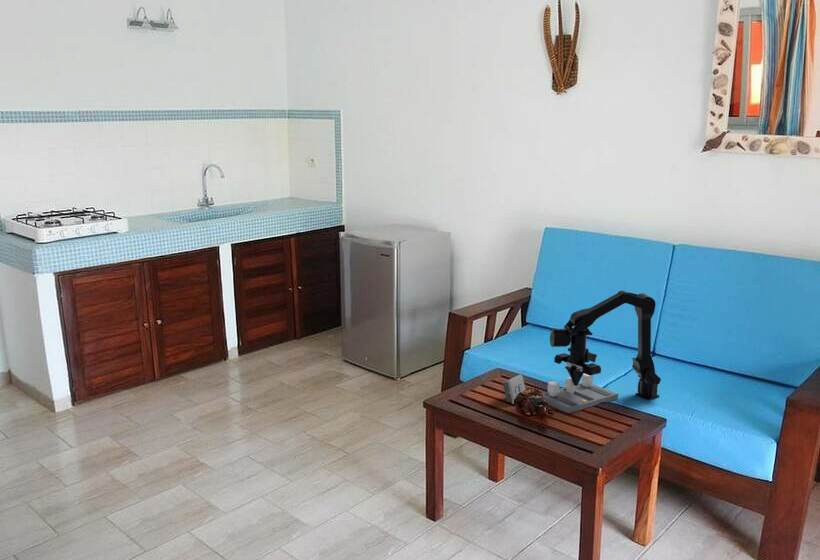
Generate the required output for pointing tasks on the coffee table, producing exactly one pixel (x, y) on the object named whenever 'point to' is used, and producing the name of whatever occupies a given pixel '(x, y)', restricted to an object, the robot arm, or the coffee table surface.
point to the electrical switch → (513, 387)
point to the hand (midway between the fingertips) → (575, 385)
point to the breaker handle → (569, 385)
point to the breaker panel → (577, 395)
